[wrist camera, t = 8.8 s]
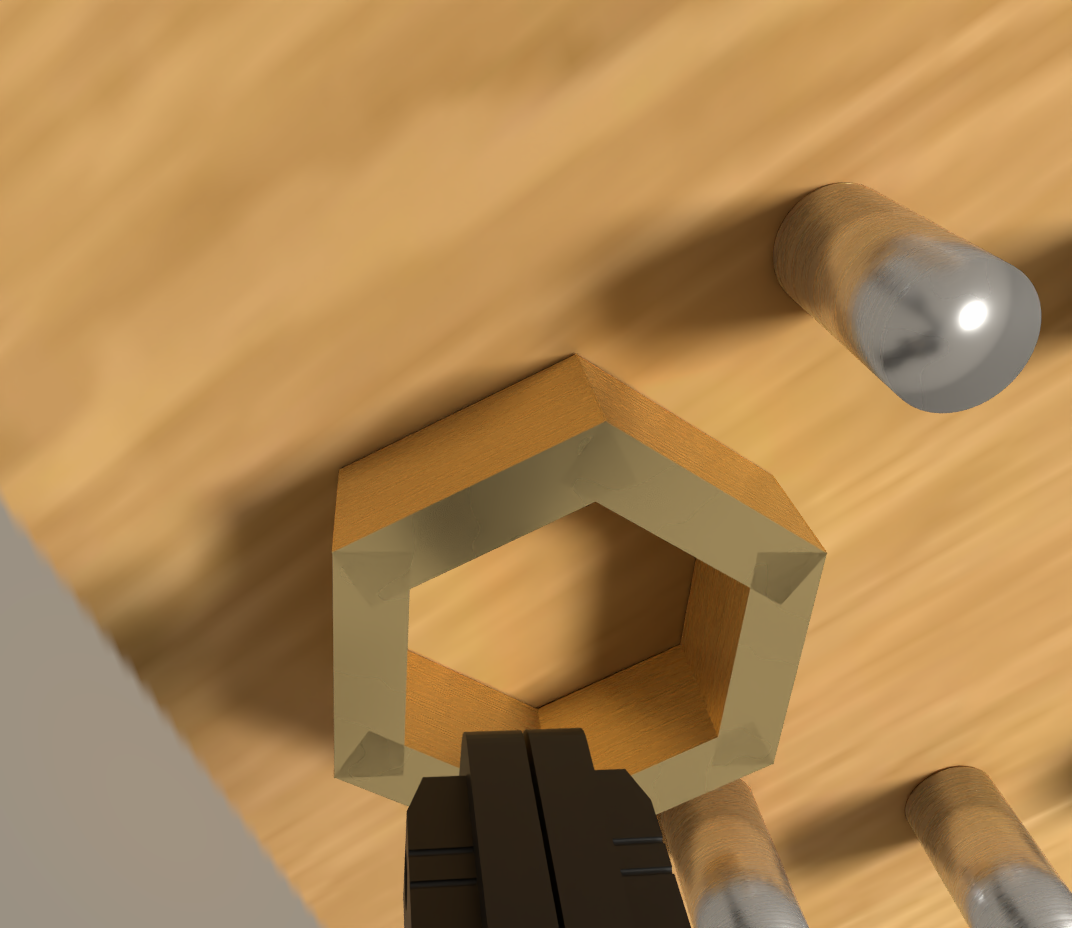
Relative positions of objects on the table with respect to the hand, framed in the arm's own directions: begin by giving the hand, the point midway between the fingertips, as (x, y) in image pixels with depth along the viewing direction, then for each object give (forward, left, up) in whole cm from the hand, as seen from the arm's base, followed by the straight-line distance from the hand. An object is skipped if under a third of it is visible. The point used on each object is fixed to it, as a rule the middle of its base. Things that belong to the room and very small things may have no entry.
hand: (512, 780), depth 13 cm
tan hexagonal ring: (+1, -1, -6) cm, 6 cm away
